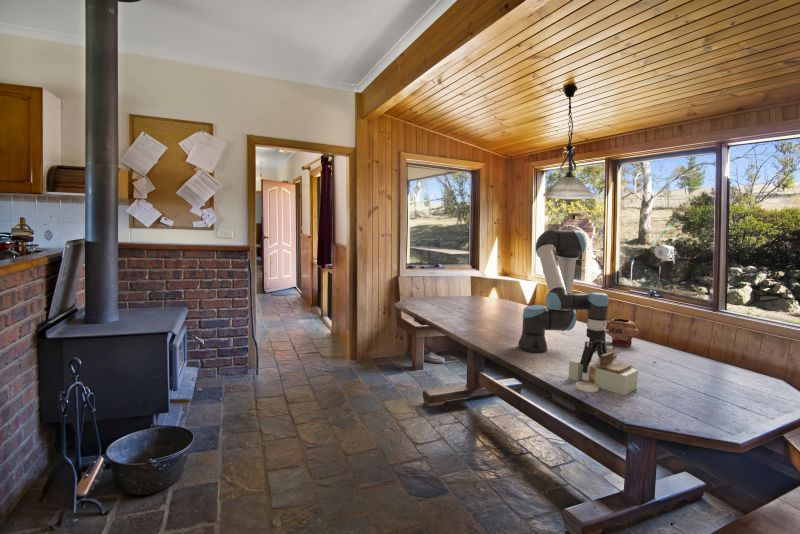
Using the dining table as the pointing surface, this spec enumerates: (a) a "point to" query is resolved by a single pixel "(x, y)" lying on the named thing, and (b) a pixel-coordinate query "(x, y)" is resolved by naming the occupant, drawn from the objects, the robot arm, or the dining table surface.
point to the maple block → (592, 372)
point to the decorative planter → (622, 331)
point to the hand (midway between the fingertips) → (592, 376)
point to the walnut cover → (612, 363)
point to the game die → (611, 349)
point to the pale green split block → (607, 377)
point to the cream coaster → (587, 387)
